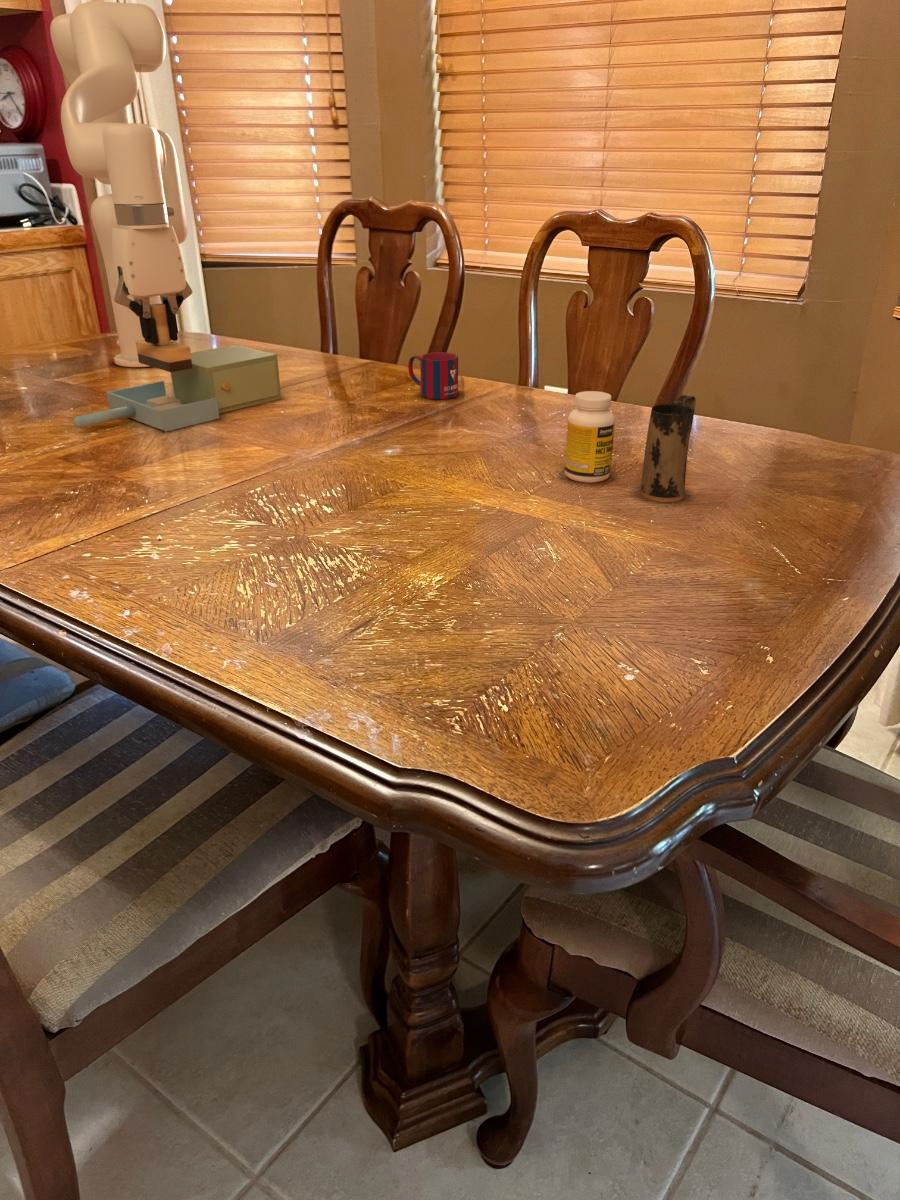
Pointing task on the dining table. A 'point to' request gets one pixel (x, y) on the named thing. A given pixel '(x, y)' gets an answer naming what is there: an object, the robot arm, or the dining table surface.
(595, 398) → the pill bottle
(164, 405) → the felt
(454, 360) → the cup
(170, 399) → the felt
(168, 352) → the tan two-tone stamp part
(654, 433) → the mug
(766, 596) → the dining table surface
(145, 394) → the dustpan
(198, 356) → the cabinet
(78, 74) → the robot arm
